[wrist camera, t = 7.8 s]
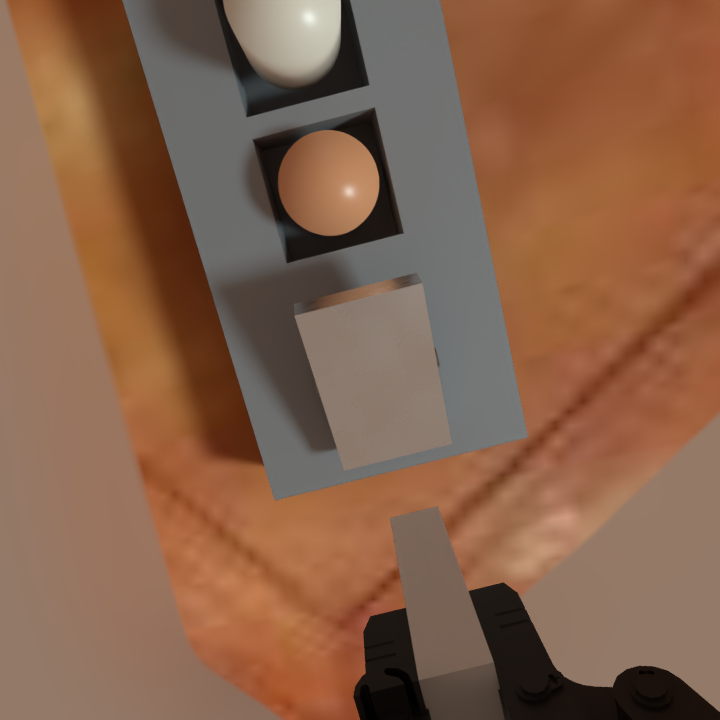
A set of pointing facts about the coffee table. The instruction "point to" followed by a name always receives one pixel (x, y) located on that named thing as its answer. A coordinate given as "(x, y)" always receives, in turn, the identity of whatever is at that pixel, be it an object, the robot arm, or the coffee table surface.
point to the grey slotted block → (332, 253)
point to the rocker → (376, 370)
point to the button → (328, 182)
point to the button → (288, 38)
